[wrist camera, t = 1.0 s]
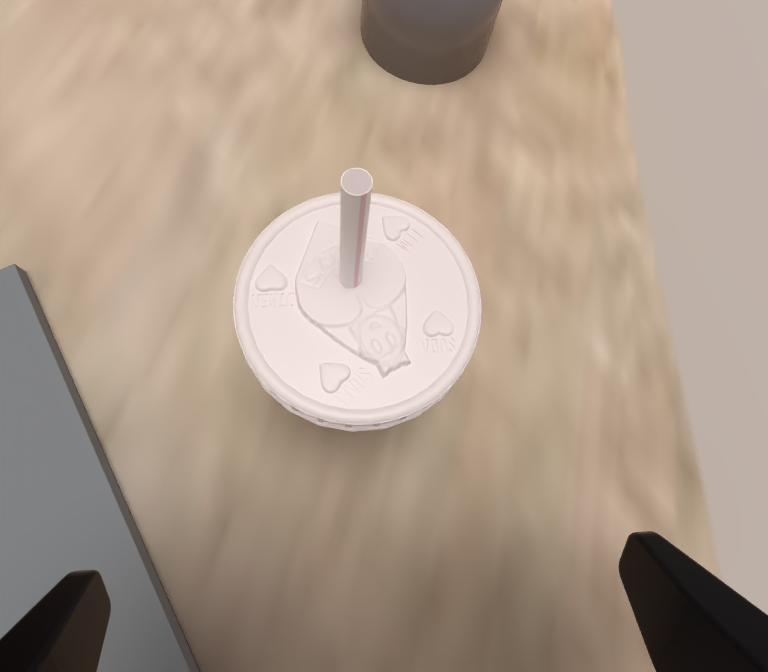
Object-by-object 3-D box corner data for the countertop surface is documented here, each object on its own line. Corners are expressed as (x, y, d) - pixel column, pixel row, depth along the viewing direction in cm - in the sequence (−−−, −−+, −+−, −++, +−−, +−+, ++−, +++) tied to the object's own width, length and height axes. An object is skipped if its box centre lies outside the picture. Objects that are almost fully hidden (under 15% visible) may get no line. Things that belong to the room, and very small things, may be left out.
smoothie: (381, 287, 23) (440, 16, 10) (450, 411, 22) (625, 290, 9) (250, 346, 22) (119, 126, 9) (315, 483, 21) (275, 470, 7)
